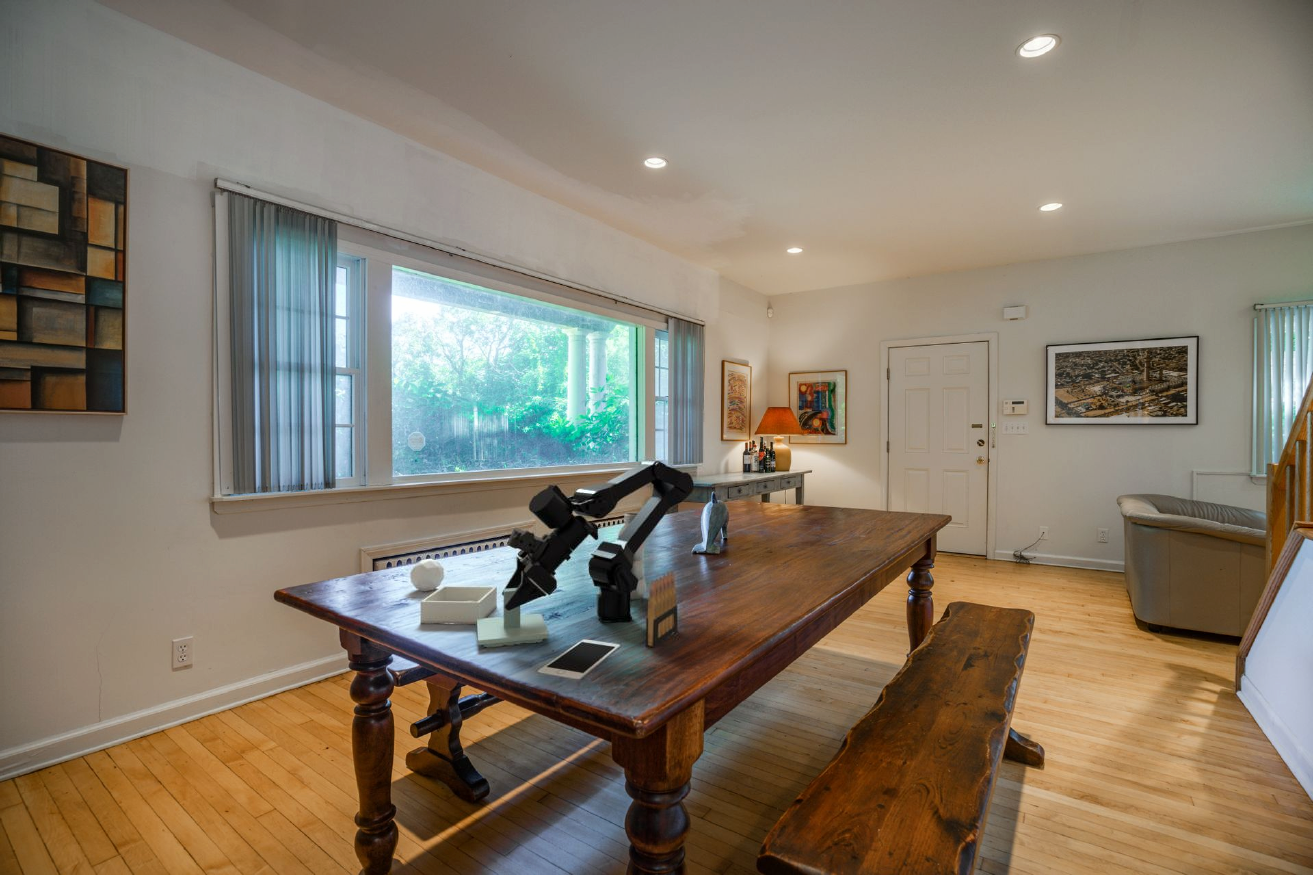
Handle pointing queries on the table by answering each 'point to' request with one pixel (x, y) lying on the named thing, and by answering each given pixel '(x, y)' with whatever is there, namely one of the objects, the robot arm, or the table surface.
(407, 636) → the table surface
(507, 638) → the lid
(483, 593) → the tub
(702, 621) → the table surface
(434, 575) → the geometric ball
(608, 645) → the cell phone
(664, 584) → the ammunition clip
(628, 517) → the plastic bottle
